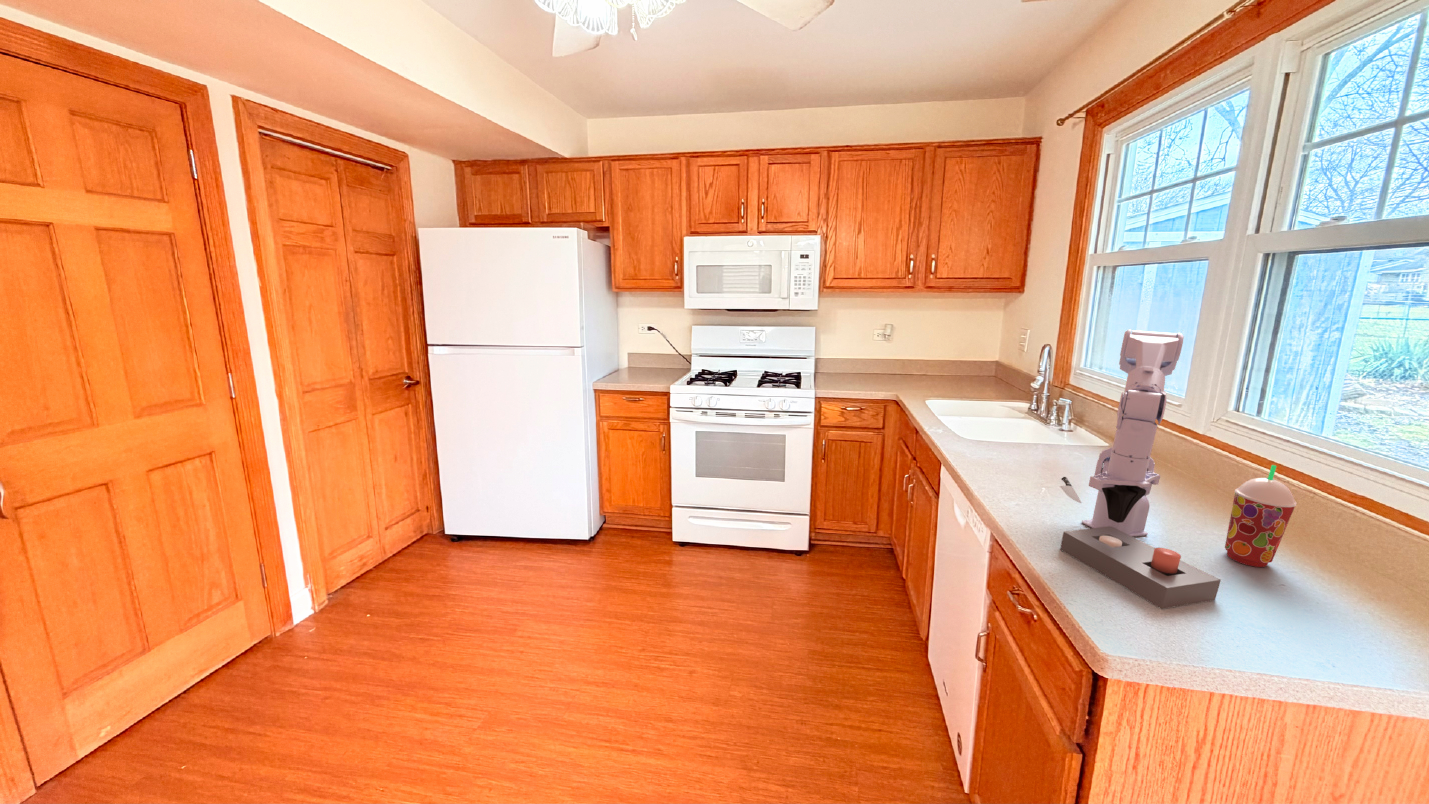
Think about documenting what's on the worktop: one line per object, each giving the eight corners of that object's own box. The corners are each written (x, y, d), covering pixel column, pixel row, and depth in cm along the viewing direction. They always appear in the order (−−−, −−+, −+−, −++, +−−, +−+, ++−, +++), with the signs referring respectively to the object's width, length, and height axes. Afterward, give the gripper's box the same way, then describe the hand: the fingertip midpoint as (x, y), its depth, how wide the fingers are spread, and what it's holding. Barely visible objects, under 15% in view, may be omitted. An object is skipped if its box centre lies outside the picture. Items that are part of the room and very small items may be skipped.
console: (1106, 543, 111) (1110, 526, 110) (1214, 600, 92) (1220, 579, 91) (1060, 549, 108) (1063, 531, 107) (1161, 609, 89) (1167, 587, 88)
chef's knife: (1068, 505, 130) (1083, 507, 129) (1069, 501, 130) (1084, 502, 129) (1053, 478, 147) (1066, 479, 146) (1054, 474, 147) (1066, 475, 146)
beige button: (1106, 548, 106) (1109, 534, 106) (1123, 557, 103) (1127, 543, 102) (1092, 550, 105) (1095, 536, 105) (1109, 559, 102) (1112, 545, 101)
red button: (1161, 561, 96) (1164, 546, 95) (1182, 572, 93) (1186, 556, 92) (1145, 563, 95) (1149, 548, 95) (1166, 574, 92) (1170, 559, 91)
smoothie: (1259, 553, 108) (1287, 461, 103) (1287, 575, 100) (1318, 476, 95) (1209, 546, 111) (1234, 455, 106) (1232, 566, 103) (1259, 469, 98)
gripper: (1120, 463, 94) (1105, 533, 97) (1182, 458, 97) (1166, 526, 100) (1084, 450, 100) (1071, 516, 103) (1144, 446, 104) (1129, 510, 107)
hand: (1115, 520), depth 102 cm, fingers closed
